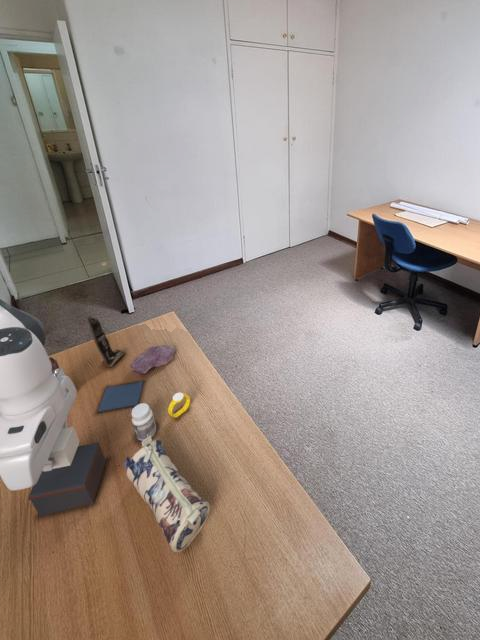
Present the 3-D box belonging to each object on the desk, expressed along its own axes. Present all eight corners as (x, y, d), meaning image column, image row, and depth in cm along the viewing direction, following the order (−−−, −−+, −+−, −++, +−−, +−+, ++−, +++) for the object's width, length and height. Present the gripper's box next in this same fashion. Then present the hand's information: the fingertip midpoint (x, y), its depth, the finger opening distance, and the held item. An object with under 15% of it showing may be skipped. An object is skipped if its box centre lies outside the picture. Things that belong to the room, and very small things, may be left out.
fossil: (126, 370, 102) (123, 358, 100) (168, 346, 112) (165, 333, 110) (139, 384, 97) (136, 371, 95) (181, 356, 107) (179, 344, 105)
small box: (36, 472, 65) (28, 456, 63) (48, 447, 69) (40, 432, 67) (70, 465, 66) (63, 449, 64) (79, 441, 70) (73, 426, 68)
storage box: (39, 516, 67) (27, 497, 64) (58, 470, 75) (48, 451, 72) (93, 504, 69) (84, 484, 66) (106, 460, 77) (99, 441, 74)
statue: (127, 354, 108) (112, 305, 100) (111, 370, 102) (94, 319, 93) (116, 352, 109) (101, 303, 100) (99, 368, 103) (82, 317, 94)
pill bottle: (136, 427, 85) (129, 405, 81) (156, 421, 86) (150, 398, 83) (136, 444, 81) (129, 421, 77) (156, 437, 82) (150, 414, 79)
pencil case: (127, 482, 73) (117, 455, 69) (163, 453, 79) (156, 426, 75) (179, 568, 60) (171, 540, 56) (218, 526, 66) (212, 498, 62)
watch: (174, 423, 86) (170, 407, 83) (168, 417, 87) (164, 402, 85) (193, 407, 90) (190, 392, 88) (187, 402, 92) (184, 387, 89)
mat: (98, 412, 89) (97, 411, 89) (106, 388, 96) (106, 387, 96) (137, 405, 91) (137, 404, 91) (143, 382, 98) (143, 381, 98)
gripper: (42, 365, 70) (60, 410, 75) (-20, 463, 51) (11, 511, 57) (75, 361, 71) (91, 405, 77) (26, 454, 53) (51, 503, 59)
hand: (56, 451), depth 67 cm, fingers closed on small box, 5 cm apart
